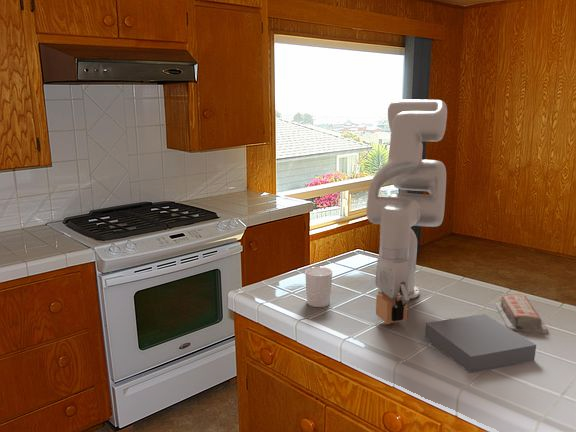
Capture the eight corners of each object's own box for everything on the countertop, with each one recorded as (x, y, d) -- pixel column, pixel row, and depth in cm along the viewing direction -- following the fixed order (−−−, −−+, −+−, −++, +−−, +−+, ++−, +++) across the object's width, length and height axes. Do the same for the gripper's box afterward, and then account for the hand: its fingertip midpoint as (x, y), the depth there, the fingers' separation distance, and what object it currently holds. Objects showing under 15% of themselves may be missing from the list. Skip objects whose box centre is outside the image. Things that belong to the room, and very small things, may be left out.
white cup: (317, 310, 147) (318, 277, 145) (299, 302, 153) (299, 270, 151) (337, 303, 152) (337, 271, 150) (318, 295, 158) (319, 265, 155)
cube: (375, 313, 140) (376, 293, 139) (395, 310, 142) (396, 290, 140) (386, 323, 135) (387, 302, 133) (406, 320, 136) (407, 299, 135)
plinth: (424, 337, 131) (425, 322, 130) (483, 327, 136) (484, 313, 135) (469, 372, 114) (471, 356, 113) (534, 360, 120) (536, 344, 119)
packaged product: (550, 318, 132) (509, 315, 134) (548, 335, 133) (508, 332, 135) (531, 292, 149) (495, 290, 151) (529, 307, 150) (494, 305, 152)
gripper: (366, 243, 140) (364, 303, 145) (398, 264, 124) (394, 331, 129) (390, 240, 142) (387, 299, 147) (424, 261, 126) (420, 326, 131)
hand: (391, 314), depth 138 cm, fingers closed on cube, 6 cm apart
